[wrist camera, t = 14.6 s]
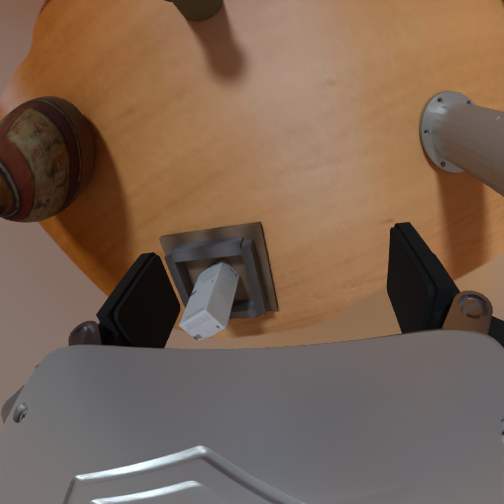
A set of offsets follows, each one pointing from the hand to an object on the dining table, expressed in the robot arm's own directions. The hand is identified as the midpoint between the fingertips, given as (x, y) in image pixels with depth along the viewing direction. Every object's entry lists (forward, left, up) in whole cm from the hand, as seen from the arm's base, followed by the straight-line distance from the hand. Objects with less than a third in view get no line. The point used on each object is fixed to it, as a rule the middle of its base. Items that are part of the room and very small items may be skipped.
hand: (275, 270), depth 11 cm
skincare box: (+14, +20, -30) cm, 38 cm away
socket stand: (+14, +20, -30) cm, 39 cm away
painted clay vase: (+37, -9, -31) cm, 49 cm away
